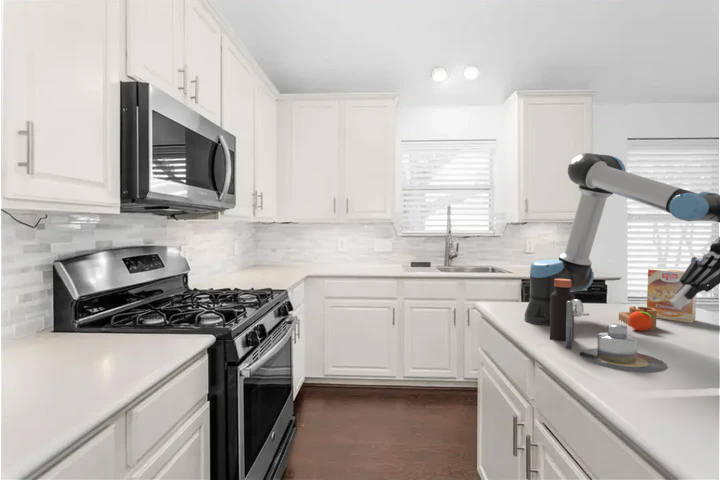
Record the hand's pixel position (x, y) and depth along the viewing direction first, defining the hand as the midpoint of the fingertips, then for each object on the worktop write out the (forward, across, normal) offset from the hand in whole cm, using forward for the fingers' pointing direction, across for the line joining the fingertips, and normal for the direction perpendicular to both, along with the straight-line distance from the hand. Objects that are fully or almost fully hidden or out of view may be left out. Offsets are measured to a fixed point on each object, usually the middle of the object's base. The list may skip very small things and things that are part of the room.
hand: (674, 305), depth 114 cm
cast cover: (+22, 0, -1) cm, 22 cm away
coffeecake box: (-20, -48, +43) cm, 68 cm away
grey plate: (+22, +1, 0) cm, 22 cm away
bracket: (-5, -42, +29) cm, 51 cm away
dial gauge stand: (+26, -10, -4) cm, 29 cm away
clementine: (-1, -31, +24) cm, 39 cm away
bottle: (+25, -20, -2) cm, 32 cm away
